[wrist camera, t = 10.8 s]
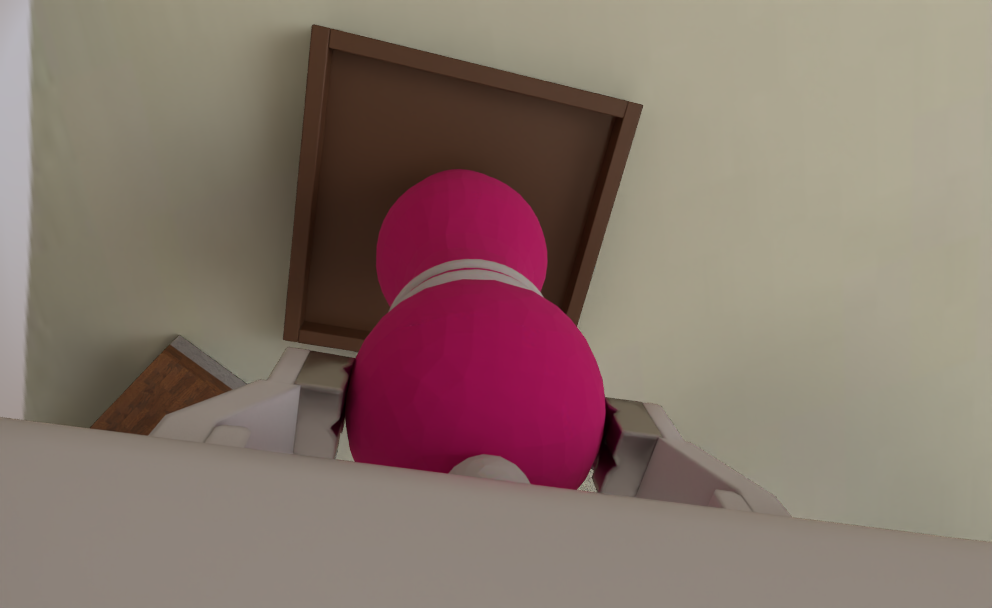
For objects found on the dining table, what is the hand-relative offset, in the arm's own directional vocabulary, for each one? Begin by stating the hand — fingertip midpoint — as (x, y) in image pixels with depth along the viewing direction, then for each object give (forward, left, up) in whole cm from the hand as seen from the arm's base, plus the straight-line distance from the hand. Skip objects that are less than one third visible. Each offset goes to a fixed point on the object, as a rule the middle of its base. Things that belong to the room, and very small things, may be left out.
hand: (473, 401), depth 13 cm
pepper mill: (0, 0, -16) cm, 16 cm away
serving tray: (0, 0, -18) cm, 18 cm away
